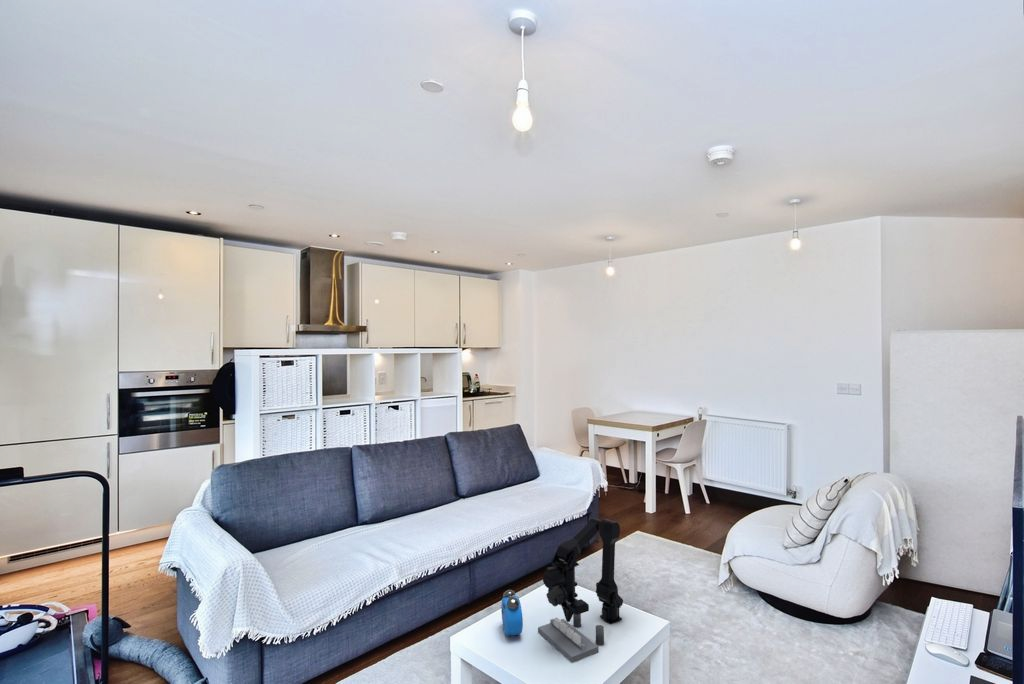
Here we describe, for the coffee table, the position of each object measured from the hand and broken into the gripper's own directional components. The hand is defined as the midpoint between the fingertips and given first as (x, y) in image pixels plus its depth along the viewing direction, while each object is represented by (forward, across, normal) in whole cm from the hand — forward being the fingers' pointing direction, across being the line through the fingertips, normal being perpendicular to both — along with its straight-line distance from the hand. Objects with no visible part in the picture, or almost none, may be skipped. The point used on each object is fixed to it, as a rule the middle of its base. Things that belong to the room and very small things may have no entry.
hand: (568, 621), depth 184 cm
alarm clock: (+8, -16, -16) cm, 24 cm away
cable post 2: (+8, +7, +9) cm, 14 cm away
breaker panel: (+7, 0, -1) cm, 7 cm away
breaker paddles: (+4, 0, -1) cm, 5 cm away
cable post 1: (+8, -7, +9) cm, 14 cm away
